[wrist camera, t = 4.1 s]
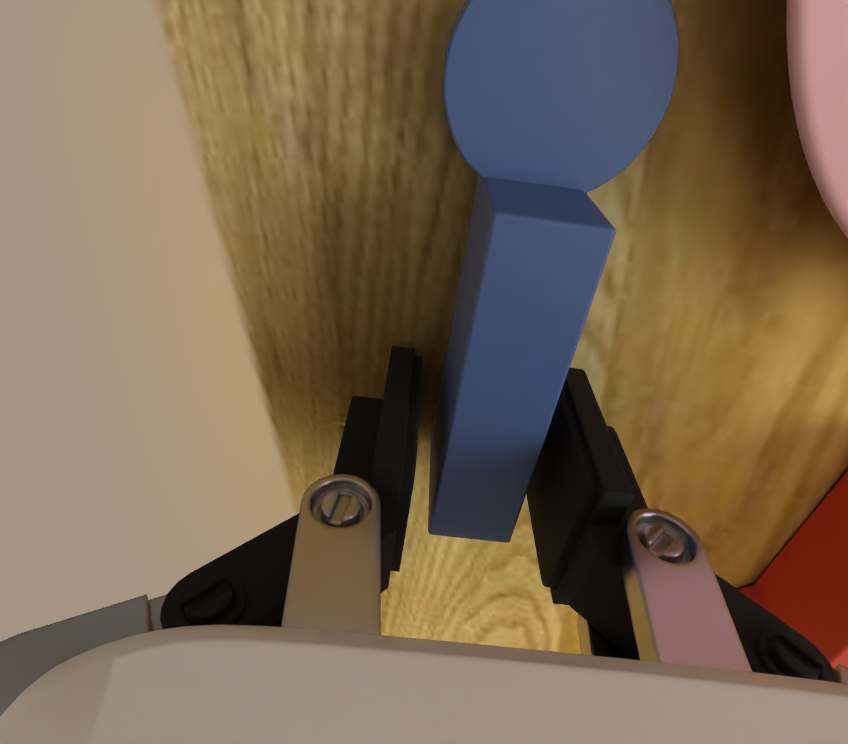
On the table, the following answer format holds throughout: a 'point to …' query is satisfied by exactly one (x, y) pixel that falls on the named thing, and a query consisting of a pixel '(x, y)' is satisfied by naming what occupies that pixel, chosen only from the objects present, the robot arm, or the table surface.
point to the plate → (821, 94)
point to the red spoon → (813, 578)
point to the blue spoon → (533, 225)
